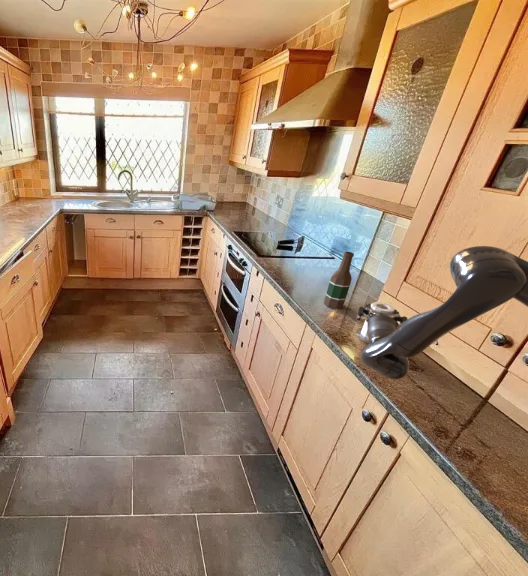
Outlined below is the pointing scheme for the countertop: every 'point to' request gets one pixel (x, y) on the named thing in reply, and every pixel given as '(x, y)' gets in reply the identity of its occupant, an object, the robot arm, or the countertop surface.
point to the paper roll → (378, 307)
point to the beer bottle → (339, 283)
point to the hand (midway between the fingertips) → (381, 308)
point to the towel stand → (360, 336)
